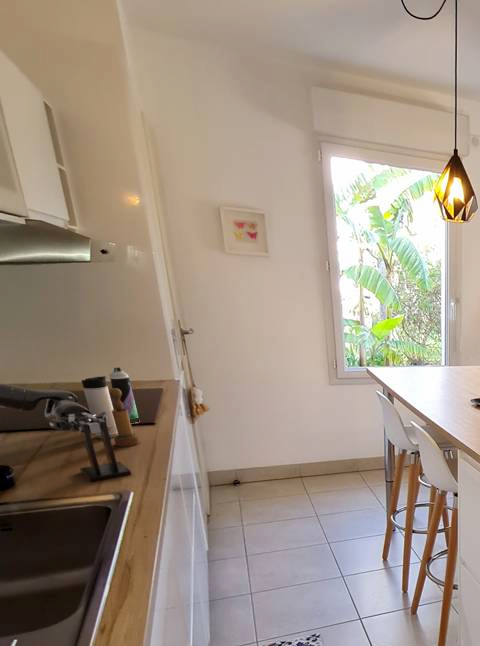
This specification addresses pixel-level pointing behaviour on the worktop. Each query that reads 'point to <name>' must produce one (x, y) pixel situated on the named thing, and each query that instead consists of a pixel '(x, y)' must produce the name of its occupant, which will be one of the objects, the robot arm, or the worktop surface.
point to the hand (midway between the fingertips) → (87, 425)
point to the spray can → (124, 391)
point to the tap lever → (90, 425)
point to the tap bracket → (95, 470)
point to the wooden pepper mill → (122, 422)
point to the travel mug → (100, 401)
